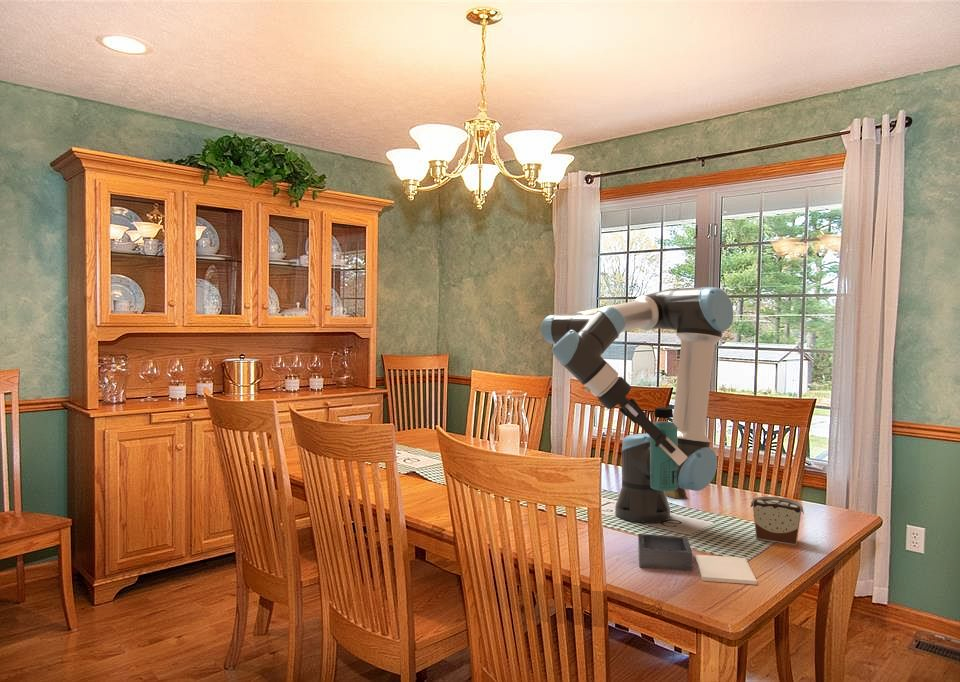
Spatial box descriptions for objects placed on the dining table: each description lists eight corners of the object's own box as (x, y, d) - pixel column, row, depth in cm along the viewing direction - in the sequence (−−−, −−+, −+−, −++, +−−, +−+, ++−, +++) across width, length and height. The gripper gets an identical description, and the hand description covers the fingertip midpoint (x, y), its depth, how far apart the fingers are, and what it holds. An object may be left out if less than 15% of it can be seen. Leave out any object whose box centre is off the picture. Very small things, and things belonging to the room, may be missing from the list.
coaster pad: (695, 557, 160) (695, 554, 160) (745, 561, 158) (745, 557, 158) (702, 580, 146) (702, 576, 146) (756, 584, 144) (756, 580, 144)
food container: (805, 539, 174) (806, 500, 173) (803, 546, 168) (803, 505, 168) (753, 531, 180) (754, 493, 180) (749, 538, 175) (750, 499, 174)
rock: (643, 484, 222) (653, 487, 212) (658, 462, 223) (669, 464, 213) (670, 504, 222) (681, 508, 212) (685, 482, 223) (697, 485, 213)
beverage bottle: (674, 499, 153) (675, 410, 153) (645, 495, 157) (645, 408, 156) (681, 492, 159) (682, 406, 158) (653, 489, 162) (653, 404, 162)
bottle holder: (638, 550, 165) (638, 533, 165) (687, 553, 163) (687, 536, 163) (639, 567, 154) (639, 549, 154) (692, 571, 152) (692, 553, 152)
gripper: (592, 393, 168) (660, 460, 167) (600, 403, 149) (676, 479, 148) (614, 371, 167) (682, 438, 167) (625, 379, 148) (702, 455, 147)
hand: (679, 457), depth 157 cm, fingers closed on beverage bottle, 6 cm apart
